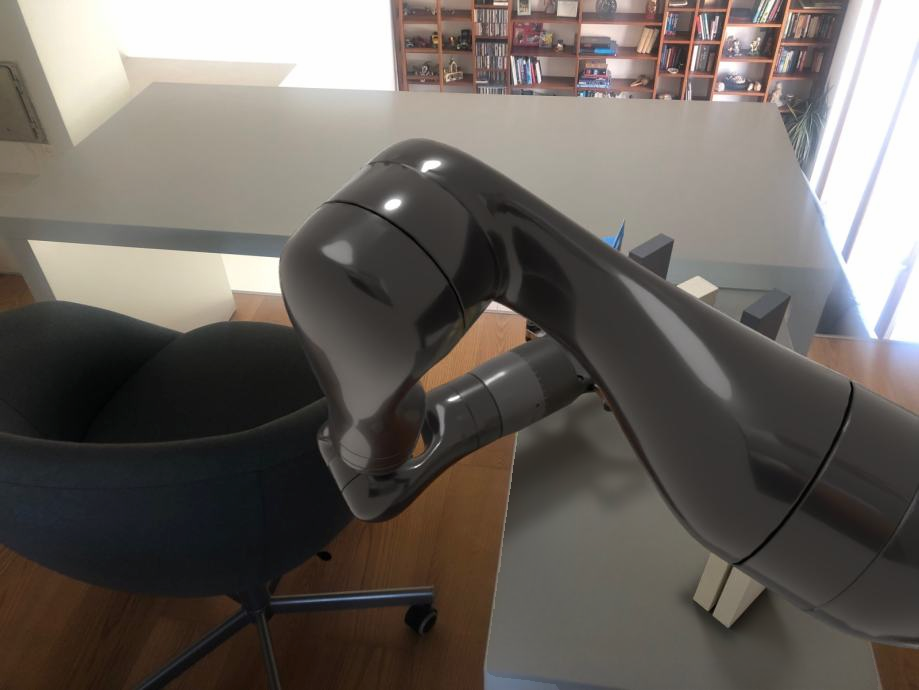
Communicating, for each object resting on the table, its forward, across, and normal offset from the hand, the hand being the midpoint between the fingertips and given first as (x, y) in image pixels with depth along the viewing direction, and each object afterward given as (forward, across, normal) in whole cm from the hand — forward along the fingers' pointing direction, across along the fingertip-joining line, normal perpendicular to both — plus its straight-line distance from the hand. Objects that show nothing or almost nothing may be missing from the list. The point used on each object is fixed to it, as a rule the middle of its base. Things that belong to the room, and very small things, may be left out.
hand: (638, 328), depth 75 cm
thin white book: (+6, 0, +10) cm, 12 cm away
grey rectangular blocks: (+10, 0, +10) cm, 14 cm away
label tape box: (+8, +14, +10) cm, 19 cm away
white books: (-10, -24, +10) cm, 28 cm away
